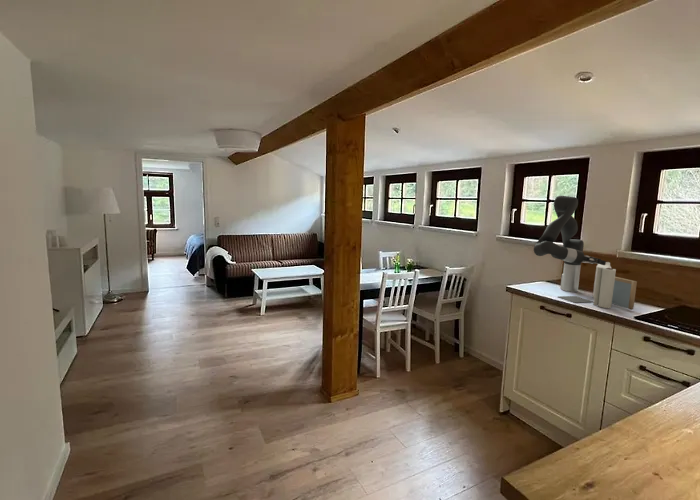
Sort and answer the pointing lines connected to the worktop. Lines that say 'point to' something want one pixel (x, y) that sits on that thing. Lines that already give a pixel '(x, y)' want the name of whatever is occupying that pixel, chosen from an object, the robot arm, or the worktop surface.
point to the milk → (597, 271)
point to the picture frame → (624, 292)
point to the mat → (575, 299)
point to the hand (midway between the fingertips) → (599, 262)
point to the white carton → (604, 287)
